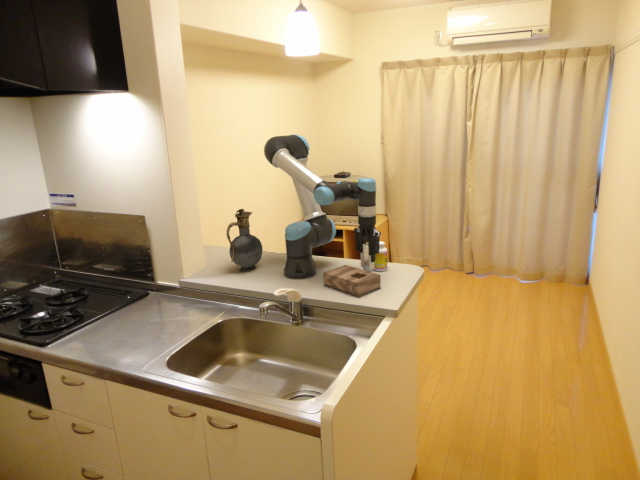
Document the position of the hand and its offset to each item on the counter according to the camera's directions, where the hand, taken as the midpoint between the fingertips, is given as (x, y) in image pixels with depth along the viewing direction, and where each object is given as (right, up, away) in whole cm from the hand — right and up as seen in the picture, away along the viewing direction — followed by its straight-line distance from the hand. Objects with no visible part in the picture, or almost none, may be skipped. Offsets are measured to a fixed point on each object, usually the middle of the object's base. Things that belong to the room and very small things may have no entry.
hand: (367, 267), depth 198 cm
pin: (0, -3, +1) cm, 3 cm away
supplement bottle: (+7, -2, +12) cm, 14 cm away
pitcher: (-57, -3, +21) cm, 60 cm away
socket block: (-7, -8, -8) cm, 14 cm away
